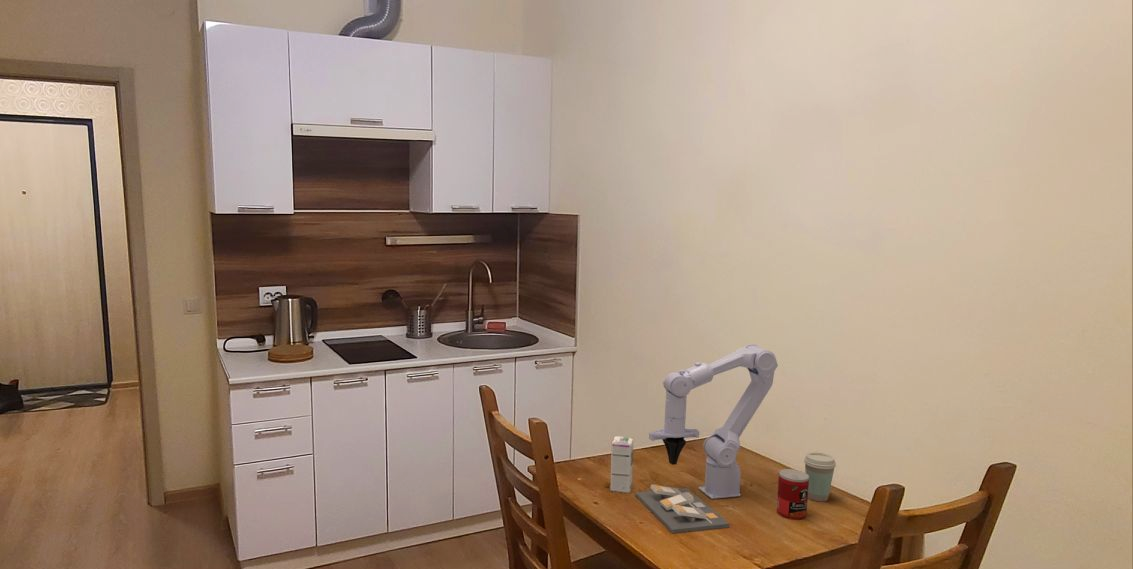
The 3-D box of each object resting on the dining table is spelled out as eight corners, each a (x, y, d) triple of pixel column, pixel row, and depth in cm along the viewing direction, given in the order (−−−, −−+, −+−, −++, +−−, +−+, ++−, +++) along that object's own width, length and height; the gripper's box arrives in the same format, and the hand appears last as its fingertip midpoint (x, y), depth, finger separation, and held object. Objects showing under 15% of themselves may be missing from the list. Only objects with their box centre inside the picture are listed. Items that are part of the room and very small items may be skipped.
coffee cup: (837, 497, 207) (841, 457, 206) (825, 506, 201) (828, 464, 199) (809, 489, 213) (812, 449, 211) (796, 497, 206) (799, 456, 205)
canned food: (791, 521, 190) (794, 481, 188) (769, 510, 197) (772, 471, 195) (812, 517, 193) (815, 477, 192) (790, 505, 200) (793, 467, 199)
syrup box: (629, 493, 205) (632, 443, 203) (609, 490, 206) (611, 441, 204) (632, 485, 210) (634, 437, 209) (612, 483, 211) (614, 435, 210)
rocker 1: (675, 491, 203) (676, 487, 203) (681, 497, 199) (683, 493, 199) (650, 488, 201) (651, 483, 201) (656, 493, 197) (657, 489, 197)
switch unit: (687, 491, 208) (687, 484, 207) (729, 527, 185) (729, 519, 185) (635, 495, 203) (635, 488, 203) (672, 533, 180) (672, 525, 180)
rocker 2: (687, 495, 196) (686, 491, 196) (694, 501, 193) (693, 497, 192) (660, 504, 194) (660, 500, 194) (667, 510, 190) (666, 506, 190)
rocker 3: (698, 512, 190) (699, 508, 190) (706, 518, 186) (707, 514, 186) (672, 508, 187) (673, 504, 187) (678, 514, 184) (680, 510, 184)
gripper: (692, 410, 208) (689, 456, 209) (645, 413, 203) (643, 460, 205) (703, 418, 201) (701, 465, 202) (655, 420, 197) (653, 469, 198)
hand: (672, 463), depth 203 cm, fingers closed
